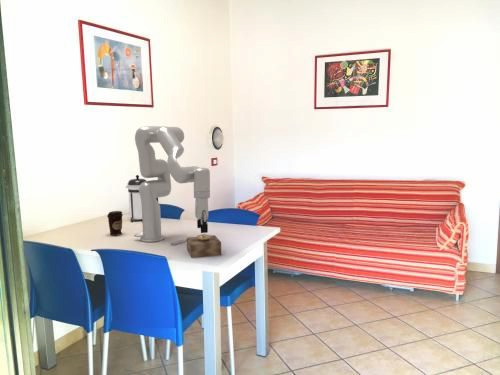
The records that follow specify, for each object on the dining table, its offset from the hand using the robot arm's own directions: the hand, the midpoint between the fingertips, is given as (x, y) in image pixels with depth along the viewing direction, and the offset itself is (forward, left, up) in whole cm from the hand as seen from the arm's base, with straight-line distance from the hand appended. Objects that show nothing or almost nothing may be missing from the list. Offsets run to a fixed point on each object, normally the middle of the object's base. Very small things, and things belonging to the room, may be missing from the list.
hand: (202, 230), depth 192 cm
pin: (0, 0, -10) cm, 10 cm away
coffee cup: (-41, +51, -11) cm, 66 cm away
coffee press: (-26, +88, -11) cm, 93 cm away
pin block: (0, 0, -11) cm, 11 cm away
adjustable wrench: (-2, +24, -11) cm, 26 cm away
